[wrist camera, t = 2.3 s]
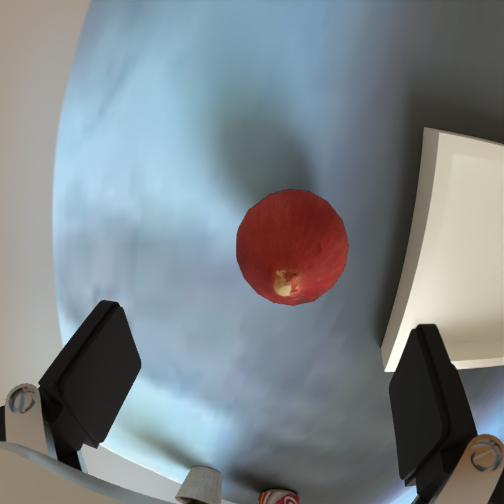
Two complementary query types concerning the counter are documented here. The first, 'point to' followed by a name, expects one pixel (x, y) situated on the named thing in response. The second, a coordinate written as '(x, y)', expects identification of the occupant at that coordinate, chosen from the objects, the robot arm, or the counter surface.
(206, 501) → the house plant
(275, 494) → the soda can
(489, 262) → the tray
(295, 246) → the red round fruit
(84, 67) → the counter surface
